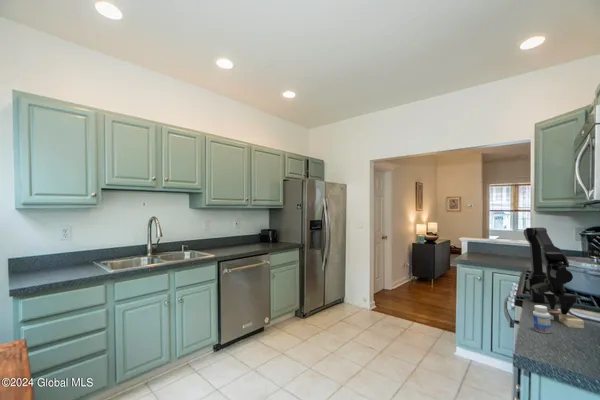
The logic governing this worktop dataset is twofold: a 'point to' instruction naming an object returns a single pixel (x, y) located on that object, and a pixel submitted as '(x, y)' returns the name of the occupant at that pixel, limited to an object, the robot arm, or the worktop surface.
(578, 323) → the birch block
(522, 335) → the worktop surface
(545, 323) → the pill bottle
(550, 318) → the channel
